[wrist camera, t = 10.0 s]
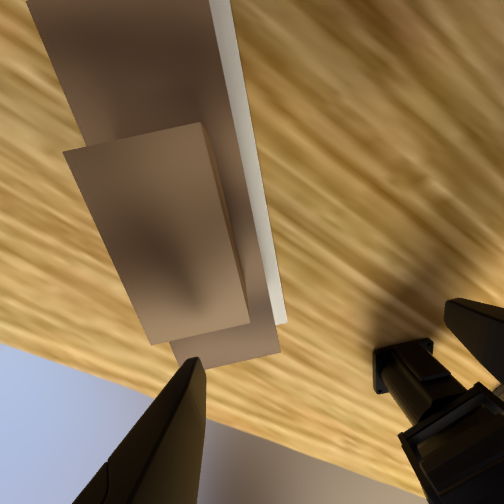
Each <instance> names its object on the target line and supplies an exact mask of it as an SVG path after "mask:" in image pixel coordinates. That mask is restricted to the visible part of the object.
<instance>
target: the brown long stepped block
mask: <svg viewBox="0 0 504 504" xmlns="http://www.w3.org/2000/svg"><path fill="white" fill-rule="evenodd" d="M26 3H27V6H28V8H29V10H30V13H31V15H32V17H33V20H34V22H35V25H36V27H37V29H38V32H39V34H40V36H41V39H42V41H43V44H44V46H45V48H46V51H47V53H48V56H49V58H50V60H51V63H52V65H53V67H54V70H55V72H56V75H57V77H58V79H59V82H60V84H61V86H62V89H63V91H64V94H65V96H66V98H67V101H68V103H69V105H70V108H71V110H72V113H73V115H74V117H75V120H76V122H77V125H78V127H79V129H80V132H81V134H82V136H83V139H84V141H85V144H86V146H87V147H82V148H78V149H73V150H69V151H64V152H63V154H64V157H65V159H66V161H67V163H68V165H69V168H70V170H71V172H72V174H73V176H74V178H75V181H76V183H77V185H78V187H79V189H80V192H81V194H82V196H83V198H84V200H85V202H86V205H87V207H88V209H89V211H90V213H91V216H92V218H93V220H94V222H95V224H96V226H97V229H98V231H99V233H100V235H101V237H102V240H103V242H104V244H105V246H106V248H107V250H108V253H109V255H110V257H111V259H112V261H113V264H114V266H115V268H116V270H117V272H118V274H119V277H120V279H121V281H122V283H123V285H124V288H125V290H126V292H127V294H128V296H129V298H130V301H131V303H132V305H133V307H134V309H135V312H136V314H137V316H138V318H139V320H140V322H141V325H142V327H143V329H144V331H145V333H146V336H147V338H148V340H149V342H150V344H151V345H155V344H160V343H164V342H168V341H169V343H170V346H171V348H172V351H173V353H174V355H175V358H176V360H177V362H178V365H179V367H181V366H182V364H183V363H184V362H185V361H186V359H188V358H192V357H196V356H197V357H199V358H200V360H201V363H202V365H203V368H204V370H206V369H210V368H215V367H219V366H223V365H228V364H232V363H237V362H241V361H245V360H250V359H254V358H259V357H263V356H267V355H272V354H276V353H280V352H281V350H280V345H279V340H278V335H277V330H276V325H275V320H274V316H273V311H272V306H271V301H270V296H269V291H268V286H267V281H266V277H265V272H264V267H263V262H262V257H261V252H260V247H259V243H258V238H257V233H256V228H255V223H254V218H253V213H252V208H251V204H250V199H249V194H248V189H247V184H246V179H245V174H244V169H243V165H242V160H241V155H240V150H239V145H238V140H237V135H236V130H235V126H234V121H233V116H232V111H231V106H230V101H229V96H228V91H227V87H226V82H225V77H224V72H223V67H222V62H221V57H220V53H219V48H218V43H217V38H216V33H215V28H214V23H213V18H212V14H211V9H210V4H209V0H28V1H26Z"/></svg>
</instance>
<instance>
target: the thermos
mask: <svg viewBox="0 0 504 504" xmlns="http://www.w3.org/2000/svg"><path fill="white" fill-rule="evenodd" d="M492 393H494V394H495V395H496V396H497V397H499V398H500V399H501V400H502V401H504V385H501V386H500V387H498V388H497V389H496V390H494V391H493V392H492Z"/></svg>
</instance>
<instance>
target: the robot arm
mask: <svg viewBox="0 0 504 504" xmlns="http://www.w3.org/2000/svg"><path fill="white" fill-rule="evenodd" d="M444 322H445V324H446V326H447V327H448V328H449V329H450V331H451V332H452V333H453V334H454V335H455V336H456V337H457V338H458V339H459V340H460V342H461V343H462V344H463V345H464V346H465V347H466V348H467V349H468V350H469V352H470V353H471V354H472V355H473V356H474V357H475V358H476V359H477V360H478V361H479V362H480V363H481V364H482V365H483V366H484V367H485V368H486V369H487V370H488V371H489V372H490V373H491V374H492V375H493V376H494V377H495V378H496V379H497V380H498V381H499V382H500V383H501V384H502V385H504V308H501V307H497V306H493V305H489V304H484V303H480V302H476V301H472V300H467V299H463V298H454V299H450V300H447V301H446V302H445V307H444ZM433 344H434V343H433V341H432V340H431V339H430V338H425V339H420V340H416V341H412V342H407V343H403V344H398V345H394V346H390V347H385V348H381V349H377V350H375V351H374V353H373V365H374V390H375V392H376V393H377V394H383V393H388V392H389V393H390V394H391V395H392V397H393V398H394V400H395V401H396V403H397V404H398V405H399V407H400V408H401V410H402V411H403V413H404V414H405V415H406V417H407V418H408V420H409V421H410V422H411V424H412V425H413V427H411V428H410V429H408V430H406V431H405V432H401V433H399V434H398V435H397V436H398V438H399V440H400V441H401V443H402V445H401V446H402V448H403V450H404V452H405V454H406V456H407V458H408V460H409V462H410V464H411V466H412V468H413V470H414V471H415V473H416V475H417V477H418V479H419V481H420V484H421V486H422V489H423V491H424V494H425V497H426V499H427V501H428V503H429V504H504V401H502V400H501V399H500V398H499V397H497V396H496V395H495V394H494V393H492V392H491V391H490V390H489V389H487V388H486V387H485V386H484V385H483V384H481V383H480V382H479V381H478V382H477V383H475V384H474V386H473V387H472V388H470V389H469V390H467V389H466V388H465V387H464V386H463V385H462V384H461V383H460V382H458V381H457V380H456V379H455V378H454V377H453V376H452V375H451V373H450V371H449V370H448V369H446V368H445V367H444V366H443V365H442V364H441V363H440V362H439V361H438V360H437V359H436V358H435V357H434V356H432V355H433ZM205 425H206V373H205V371H204V368H203V365H202V363H201V360H200V358H199V357H197V356H196V357H192V358H188V359H186V361H185V362H184V363H183V364H182V366H181V367H180V368H179V369H178V371H177V372H176V373H175V374H174V376H173V377H172V378H171V380H170V381H169V382H168V383H167V385H166V386H165V387H164V388H163V390H162V391H161V392H160V393H159V395H158V396H157V397H156V399H155V400H154V401H153V402H152V404H151V405H150V406H149V408H148V409H147V410H146V411H145V413H144V414H143V415H142V416H141V418H140V419H139V420H138V421H137V423H136V424H135V425H134V426H133V428H132V429H131V430H130V431H129V433H128V434H127V435H126V437H125V438H124V439H123V440H122V442H121V443H120V444H119V445H118V447H117V448H116V449H115V450H114V452H113V453H112V455H111V456H110V457H109V458H108V462H105V463H104V464H103V466H102V467H101V468H100V469H99V471H98V472H97V473H96V475H95V476H94V477H93V478H92V480H91V481H90V482H89V483H88V484H87V486H86V487H85V488H84V489H83V490H82V492H81V493H80V494H79V495H78V497H77V498H76V499H75V500H74V502H73V503H72V504H197V497H198V488H199V480H200V471H201V462H202V454H203V445H204V437H205Z"/></svg>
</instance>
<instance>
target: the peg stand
mask: <svg viewBox="0 0 504 504" xmlns="http://www.w3.org/2000/svg"><path fill="white" fill-rule="evenodd" d="M209 4H210V9H211V14H212V18H213V23H214V28H215V33H216V38H217V43H218V48H219V53H220V57H221V62H222V67H223V72H224V77H225V82H226V87H227V91H228V96H229V101H230V106H231V111H232V116H233V121H234V126H235V130H236V135H237V140H238V145H239V150H240V155H241V160H242V165H243V169H244V174H245V179H246V184H247V189H248V194H249V199H250V204H251V208H252V213H253V218H254V223H255V228H256V233H257V238H258V243H259V247H260V252H261V257H262V262H263V267H264V272H265V277H266V281H267V286H268V291H269V296H270V301H271V306H272V311H273V316H274V320H275V325H279V324H283V323H288V322H287V316H286V311H285V305H284V300H283V294H282V289H281V283H280V277H279V272H278V266H277V261H276V255H275V250H274V244H273V239H272V233H271V228H270V222H269V216H268V211H267V205H266V200H265V194H264V189H263V183H262V178H261V172H260V167H259V161H258V156H257V150H256V144H255V139H254V133H253V128H252V122H251V117H250V111H249V106H248V100H247V95H246V89H245V84H244V78H243V72H242V67H241V61H240V56H239V50H238V45H237V39H236V34H235V28H234V23H233V17H232V11H231V6H230V0H209Z"/></svg>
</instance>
